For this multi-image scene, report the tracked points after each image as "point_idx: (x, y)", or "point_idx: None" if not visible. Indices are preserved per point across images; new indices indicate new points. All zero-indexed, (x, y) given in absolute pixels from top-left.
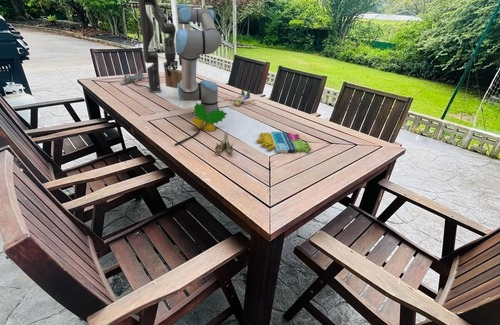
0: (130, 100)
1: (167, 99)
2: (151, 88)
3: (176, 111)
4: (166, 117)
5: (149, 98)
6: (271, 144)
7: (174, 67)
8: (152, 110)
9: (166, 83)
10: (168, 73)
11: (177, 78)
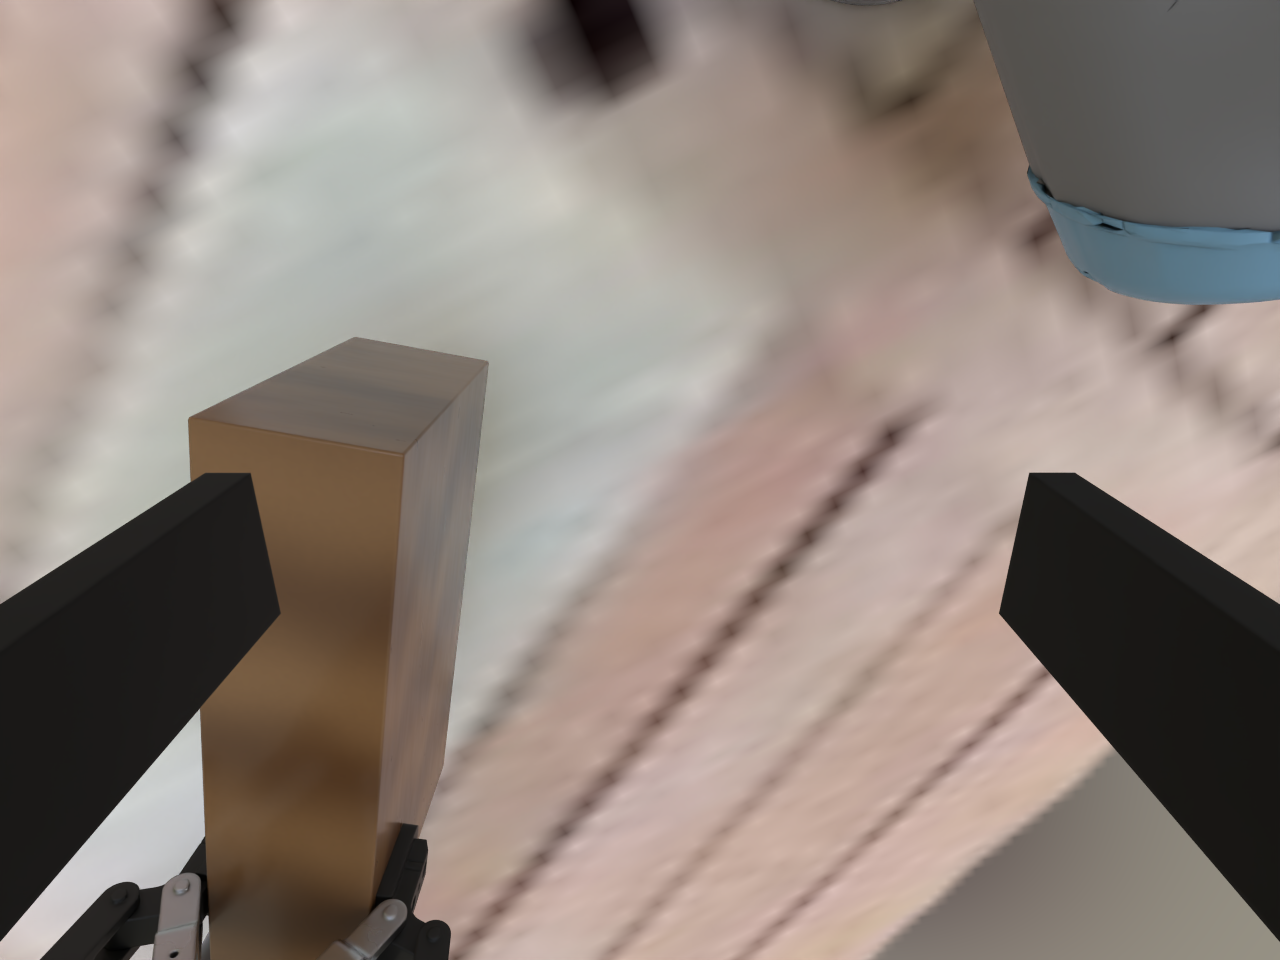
0: (714, 885)
1: (508, 640)
2: None
3: (891, 338)
4: (1130, 338)
5: (572, 795)
6: None
7: (196, 929)
8: (937, 581)
9: (434, 786)
10: (421, 874)
11: (420, 677)
